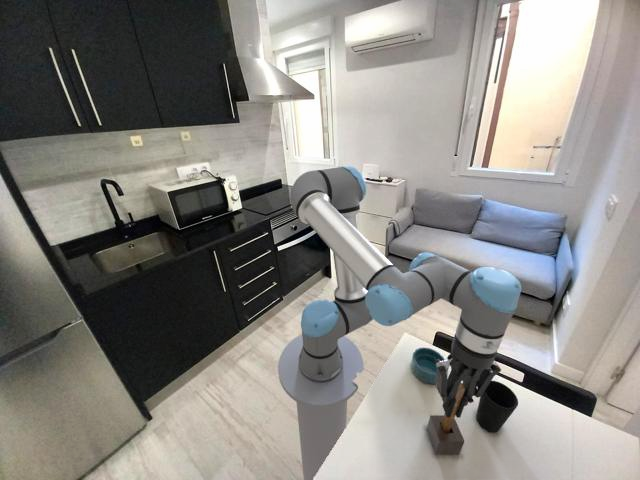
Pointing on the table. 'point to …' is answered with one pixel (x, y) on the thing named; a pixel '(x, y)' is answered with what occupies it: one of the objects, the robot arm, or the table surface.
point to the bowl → (425, 364)
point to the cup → (495, 406)
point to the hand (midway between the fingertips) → (450, 411)
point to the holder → (444, 437)
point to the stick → (448, 421)
